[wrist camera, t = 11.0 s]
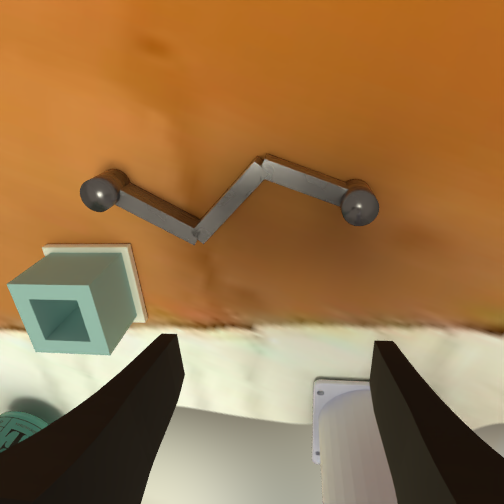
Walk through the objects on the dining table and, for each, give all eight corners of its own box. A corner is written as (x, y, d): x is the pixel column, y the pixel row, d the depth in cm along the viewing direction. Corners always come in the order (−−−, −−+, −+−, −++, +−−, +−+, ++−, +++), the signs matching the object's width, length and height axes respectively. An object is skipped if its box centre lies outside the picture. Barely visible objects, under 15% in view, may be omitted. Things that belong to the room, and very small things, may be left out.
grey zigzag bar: (366, 234, 21) (374, 252, 19) (115, 236, 23) (96, 253, 21) (374, 149, 19) (384, 159, 16) (95, 160, 21) (72, 169, 19)
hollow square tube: (137, 315, 25) (110, 355, 22) (72, 313, 26) (35, 351, 22) (121, 252, 23) (88, 285, 19) (50, 252, 24) (6, 284, 20)
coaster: (147, 318, 26) (145, 322, 25) (72, 316, 27) (68, 320, 26) (130, 243, 23) (127, 247, 23) (46, 244, 24) (41, 247, 23)
